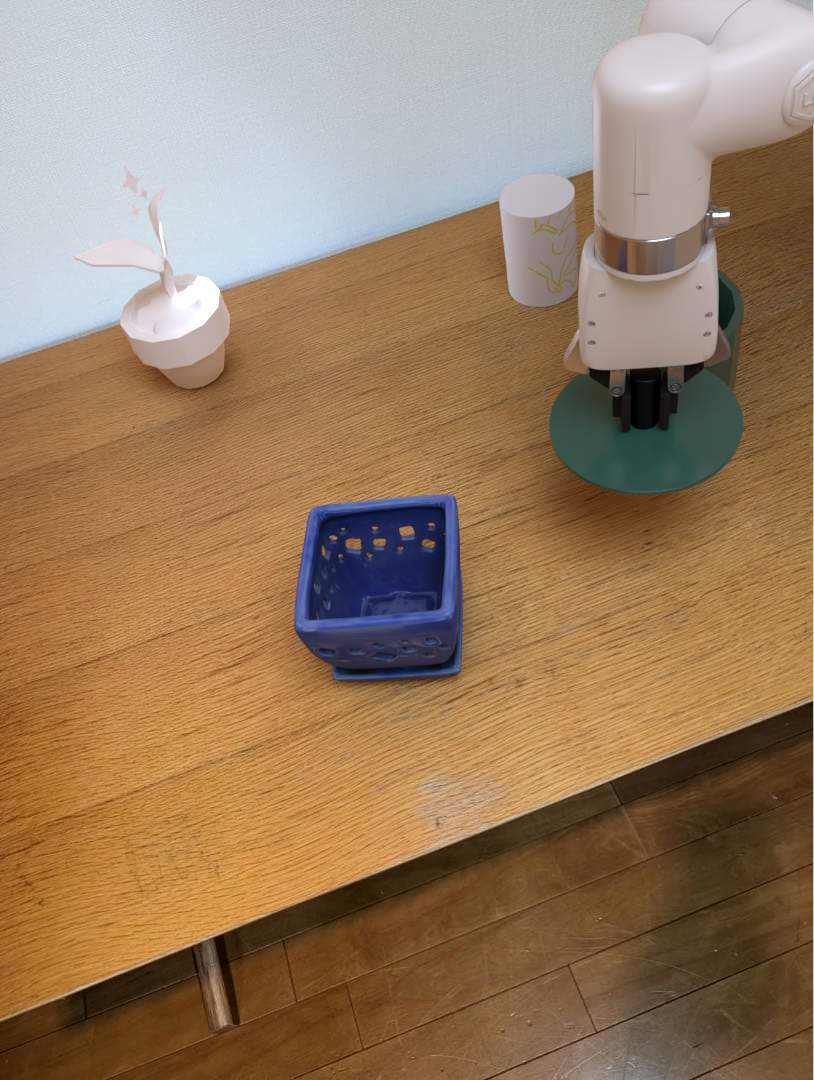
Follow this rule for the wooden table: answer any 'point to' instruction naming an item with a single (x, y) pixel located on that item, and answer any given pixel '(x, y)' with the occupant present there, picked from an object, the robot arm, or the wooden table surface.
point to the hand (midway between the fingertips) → (643, 416)
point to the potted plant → (168, 308)
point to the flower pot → (383, 589)
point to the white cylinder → (540, 239)
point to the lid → (646, 434)
